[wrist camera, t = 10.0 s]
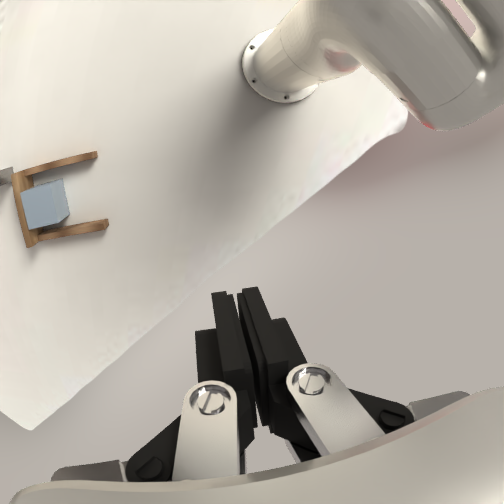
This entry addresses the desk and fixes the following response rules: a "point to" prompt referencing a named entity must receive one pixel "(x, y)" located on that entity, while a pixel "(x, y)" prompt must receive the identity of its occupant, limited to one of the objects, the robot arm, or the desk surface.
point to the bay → (25, 182)
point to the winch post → (6, 175)
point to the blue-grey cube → (45, 204)
